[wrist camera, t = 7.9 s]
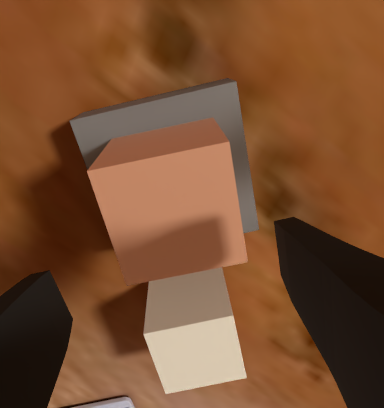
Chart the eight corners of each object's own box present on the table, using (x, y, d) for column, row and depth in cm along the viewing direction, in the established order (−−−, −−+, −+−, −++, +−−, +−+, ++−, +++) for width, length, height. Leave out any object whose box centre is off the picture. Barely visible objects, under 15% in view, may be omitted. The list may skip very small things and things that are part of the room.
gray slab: (247, 207, 21) (258, 229, 18) (127, 234, 21) (120, 259, 19) (226, 77, 18) (236, 81, 15) (85, 111, 18) (69, 120, 15)
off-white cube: (232, 317, 24) (246, 377, 20) (167, 331, 24) (165, 394, 20) (220, 262, 22) (233, 315, 18) (149, 278, 22) (143, 334, 18)
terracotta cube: (228, 209, 18) (247, 262, 13) (138, 227, 18) (126, 285, 13) (213, 117, 16) (229, 141, 11) (111, 138, 16) (86, 171, 11)
